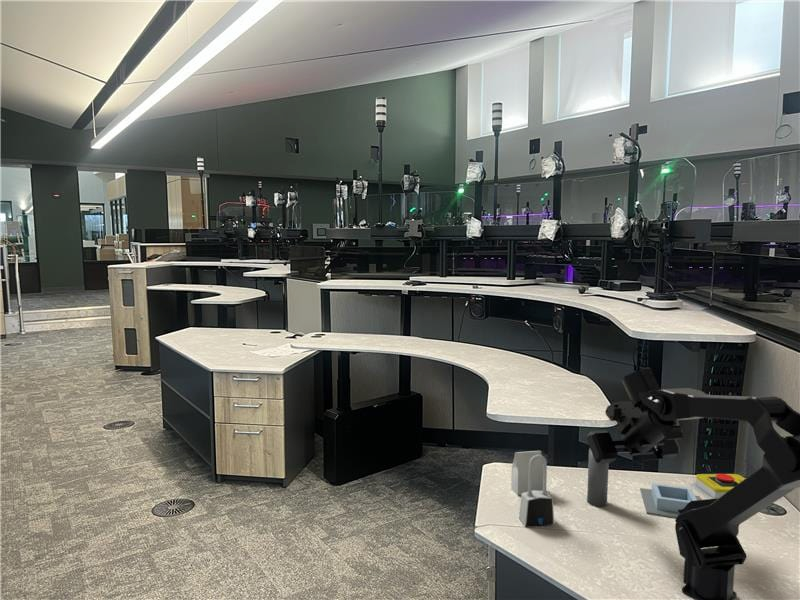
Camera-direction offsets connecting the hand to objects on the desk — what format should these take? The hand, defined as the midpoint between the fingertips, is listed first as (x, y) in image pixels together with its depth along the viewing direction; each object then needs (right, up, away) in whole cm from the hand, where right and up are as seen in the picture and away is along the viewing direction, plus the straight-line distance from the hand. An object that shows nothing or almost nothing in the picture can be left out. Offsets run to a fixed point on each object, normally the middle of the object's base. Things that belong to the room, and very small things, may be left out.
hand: (614, 460), depth 115 cm
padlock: (-18, -13, -2) cm, 22 cm away
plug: (-1, -12, +7) cm, 14 cm away
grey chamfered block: (-16, -12, +13) cm, 24 cm away
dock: (+16, -12, +6) cm, 21 cm away
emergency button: (+34, -13, +13) cm, 38 cm away
